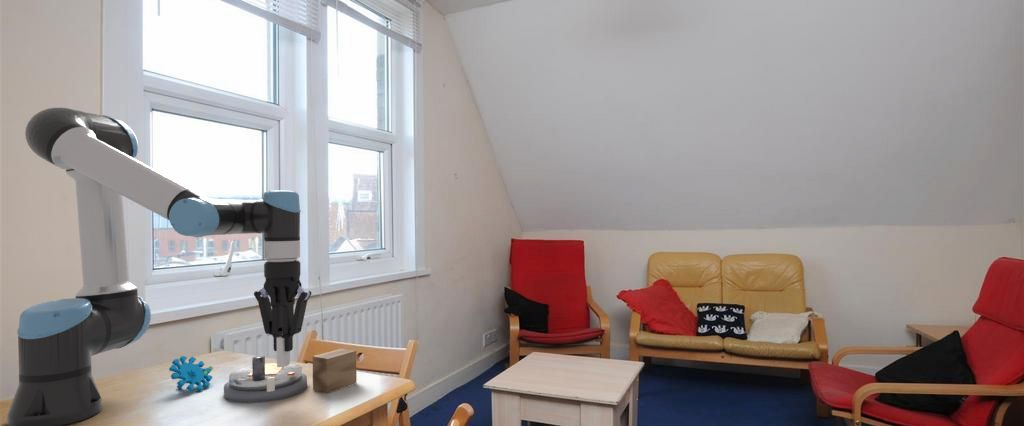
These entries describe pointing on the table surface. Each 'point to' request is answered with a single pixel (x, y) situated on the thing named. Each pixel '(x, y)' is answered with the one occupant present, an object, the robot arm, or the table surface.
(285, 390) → the wheel base
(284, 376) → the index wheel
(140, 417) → the table surface
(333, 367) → the link block
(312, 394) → the table surface
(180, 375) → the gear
